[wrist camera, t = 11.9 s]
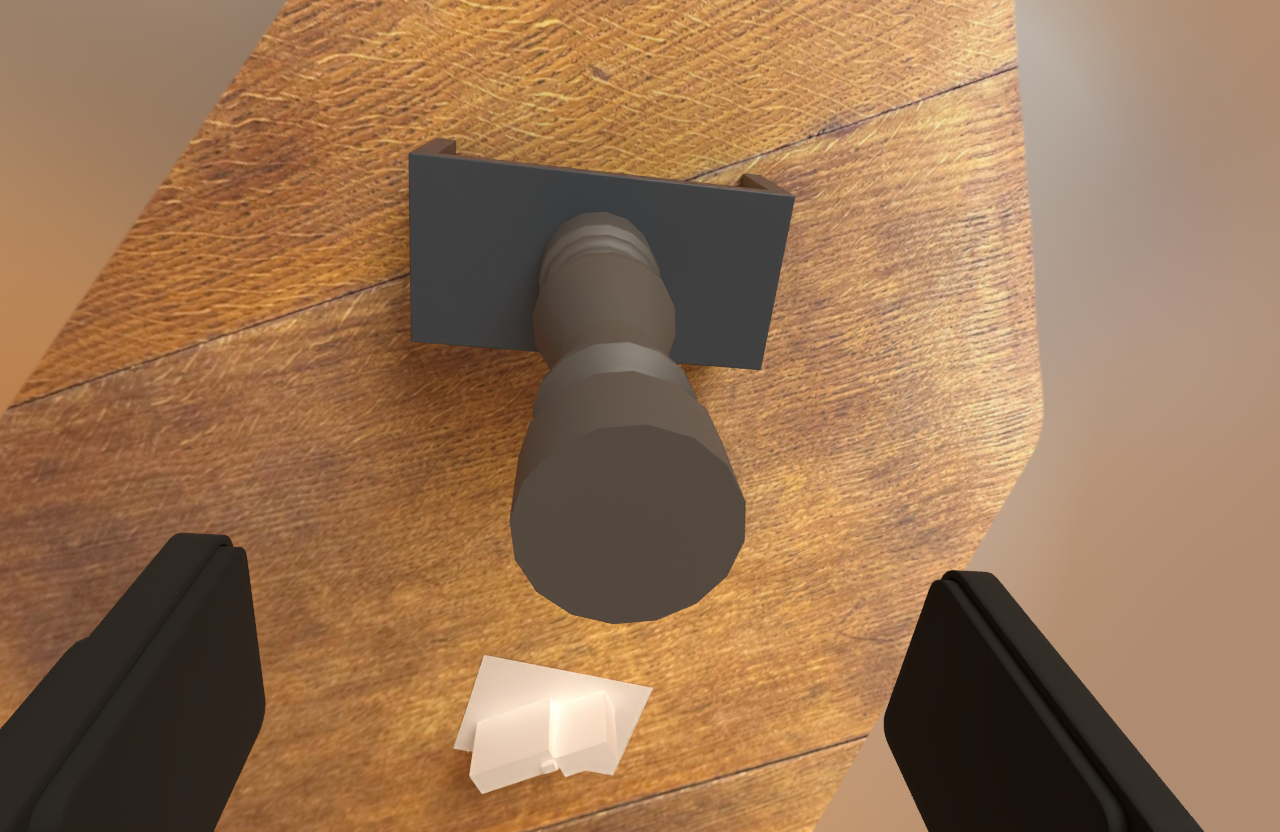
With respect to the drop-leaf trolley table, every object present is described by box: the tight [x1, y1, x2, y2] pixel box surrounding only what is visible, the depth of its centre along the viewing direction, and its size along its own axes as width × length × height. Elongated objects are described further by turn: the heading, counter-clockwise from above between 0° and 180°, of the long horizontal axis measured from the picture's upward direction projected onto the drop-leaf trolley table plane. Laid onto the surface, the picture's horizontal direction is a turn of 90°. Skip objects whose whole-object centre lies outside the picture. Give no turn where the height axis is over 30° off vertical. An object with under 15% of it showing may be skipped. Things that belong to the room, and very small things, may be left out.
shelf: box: [409, 138, 795, 370], centre depth 44 cm, size 20×10×8 cm, turn 83°
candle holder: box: [510, 212, 746, 624], centre depth 29 cm, size 6×6×25 cm
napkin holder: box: [454, 655, 653, 794], centre depth 62 cm, size 15×11×6 cm
